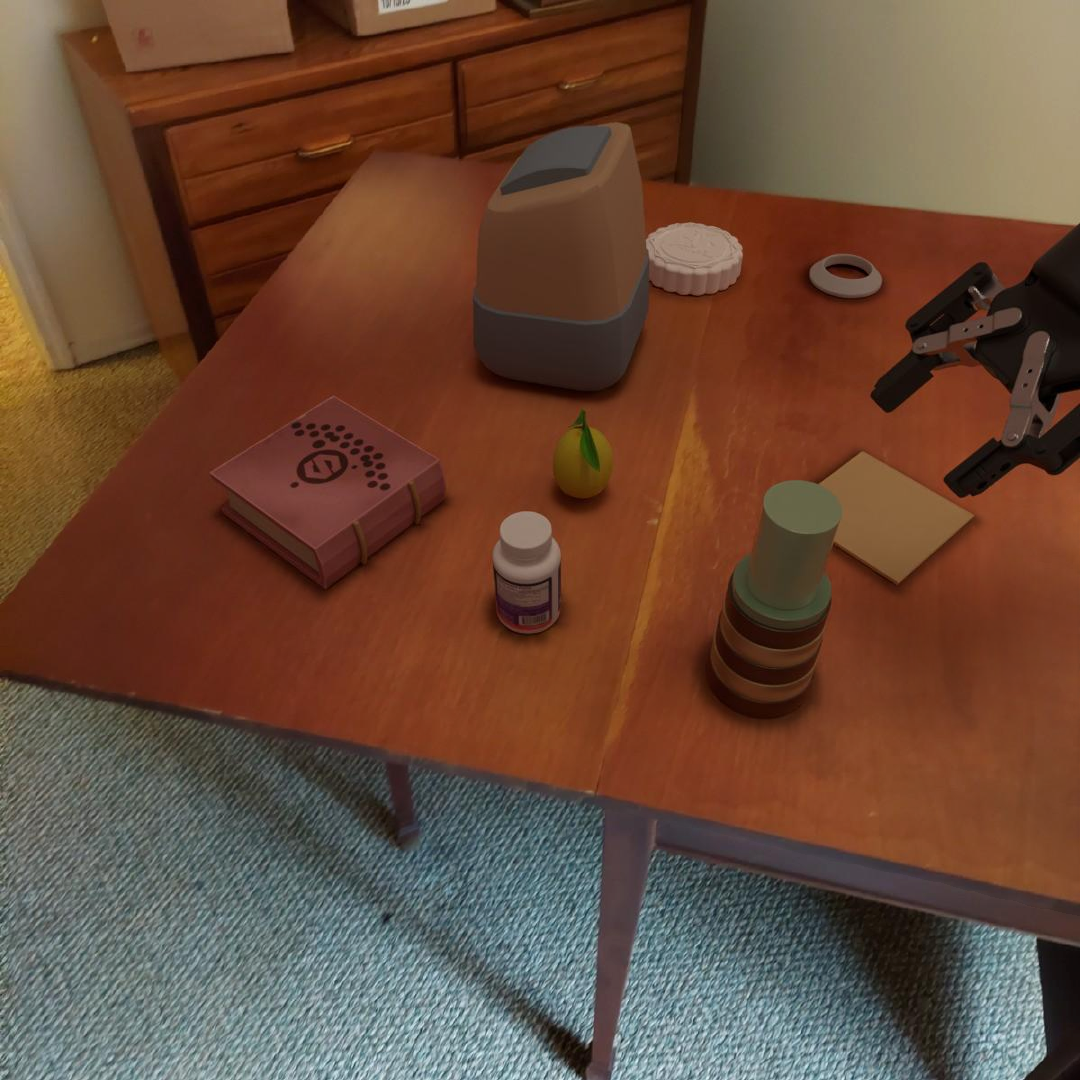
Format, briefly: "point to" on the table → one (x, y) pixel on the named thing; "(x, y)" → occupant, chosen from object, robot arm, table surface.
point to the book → (330, 489)
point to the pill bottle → (527, 573)
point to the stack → (762, 662)
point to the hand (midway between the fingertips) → (913, 445)
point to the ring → (842, 285)
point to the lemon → (582, 460)
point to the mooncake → (693, 258)
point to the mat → (890, 517)
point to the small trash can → (564, 262)
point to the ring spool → (789, 557)
